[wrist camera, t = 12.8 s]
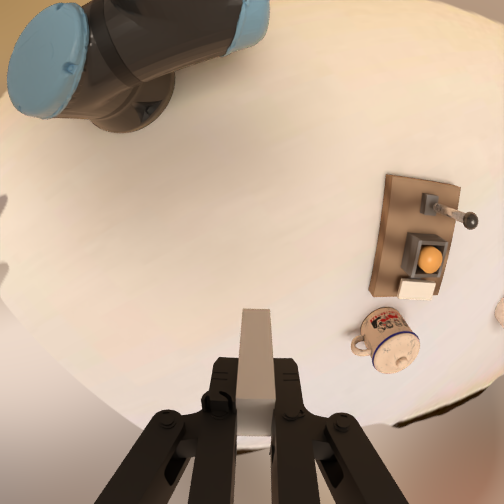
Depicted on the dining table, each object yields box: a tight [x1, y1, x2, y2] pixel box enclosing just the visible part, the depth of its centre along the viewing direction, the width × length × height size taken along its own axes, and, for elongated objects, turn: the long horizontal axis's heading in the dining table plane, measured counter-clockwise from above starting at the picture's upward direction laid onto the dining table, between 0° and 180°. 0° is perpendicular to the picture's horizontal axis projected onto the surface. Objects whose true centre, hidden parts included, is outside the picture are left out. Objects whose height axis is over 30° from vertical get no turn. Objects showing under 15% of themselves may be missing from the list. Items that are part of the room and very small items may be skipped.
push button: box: [417, 245, 442, 274], centre depth 40 cm, size 4×4×3 cm
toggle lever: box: [433, 203, 478, 230], centre depth 34 cm, size 2×2×9 cm
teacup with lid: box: [351, 308, 420, 374], centre depth 46 cm, size 12×9×12 cm
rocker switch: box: [397, 278, 436, 300], centre depth 43 cm, size 3×6×1 cm, turn 89°
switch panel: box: [369, 174, 461, 297], centre depth 42 cm, size 20×14×6 cm
